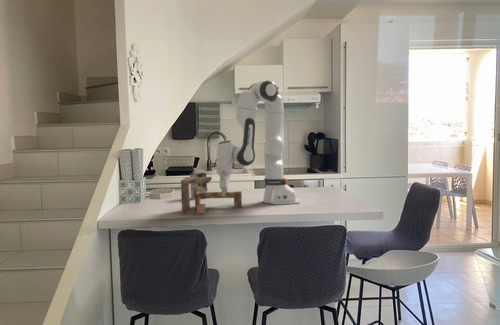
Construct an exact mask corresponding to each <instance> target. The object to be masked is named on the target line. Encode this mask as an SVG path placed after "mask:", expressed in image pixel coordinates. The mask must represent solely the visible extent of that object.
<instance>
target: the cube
mask: <svg viewBox="0 0 500 325" xmlns="http://www.w3.org/2000/svg"><path fill="white" fill-rule="evenodd" d="M196 213H198V214H203V213H206V203H201V204H198V205H197V209H196Z"/></svg>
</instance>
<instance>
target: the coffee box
mask: <svg viewBox="0 0 500 325" xmlns="http://www.w3.org/2000/svg"><path fill="white" fill-rule="evenodd" d="M189 177H207V173H205V172H197V173H196V172H192V173H189ZM189 187H190V199H193V200H195V194H196V193H197V192H198V191H200V192H208V183H189ZM202 199H204V198H200V200H202Z"/></svg>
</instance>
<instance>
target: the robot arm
mask: <svg viewBox="0 0 500 325" xmlns="http://www.w3.org/2000/svg"><path fill="white" fill-rule="evenodd" d="M278 90H279V88H278V87H277V85H276V83H275V82H274V81H272V80H263V81H258V82H255V83H252V84H251V85H250V86H249V87H248V89H245V90H242V91H241V92H240V95H239V98H238V100H237V105H236V110H235V120H236V122H237V123H238V124H239V125H240V126H241V128H242V133H243V134H242V143H241V144H242V145H241V146H239V145H237V144H235V143H234V142H232V141H231V140H222V141H220V142H219V143H217V146H216V161H217V162H216V173H217V174H218V176H219V189H221V192H222V196H225V194H226V192H228V186H229V184H230V180H231V179H230V178H231V174H233V163H234V164H239V165H241V166H244V167H246V166H247V167H248V166H250V165H252V164H253V163H254V161H255V159H256V153H255V147H254V146H255V136H256V113H257V105H258V103H259V102H263V103H264V144H263V151H264V152H263V153H264V156H263V157H264V159H263V160H264V179H263V185H264V192H263V198H262V203H264V204H270V205H288V204H289V205H290V204H291V205H292V204H293V205H294V204H300V203H301V199H300V198H299V197H298V196H297V191H296V190H295V189H293V188H292V187H291V186H289V185H288V183H289V180H288V179H287V178H284V160H283V159H284V158H283V152H284V149H285V132H284V131H285V130H284V125H285V124H284V120H285V118H284V117H285V115H284V114H285V113H284V112H285V111H284V109H285V108H284V99H283V98H282V96H281V95H280V94H279V92H278Z"/></svg>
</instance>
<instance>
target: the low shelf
mask: <svg viewBox="0 0 500 325" xmlns="http://www.w3.org/2000/svg"><path fill="white" fill-rule="evenodd" d="M211 181H212V176H206V177H190V176H187V177H184V178H183V179H181V180H180V188H181V189H180V192H181V194H180V195H181V214H182V216H186V215H187V213H189V211H190V209H191V204H190V203H191V201H190V199H191V196H190V183H207V184H209V183H210V182H211Z"/></svg>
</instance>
